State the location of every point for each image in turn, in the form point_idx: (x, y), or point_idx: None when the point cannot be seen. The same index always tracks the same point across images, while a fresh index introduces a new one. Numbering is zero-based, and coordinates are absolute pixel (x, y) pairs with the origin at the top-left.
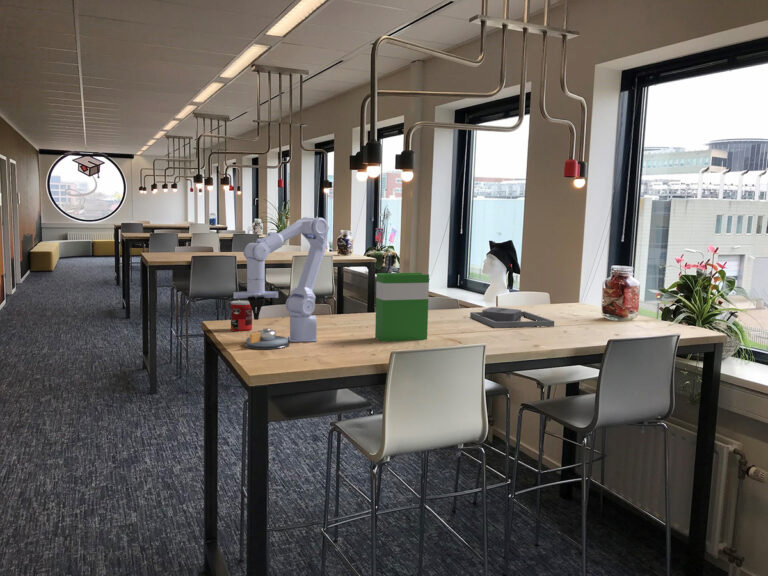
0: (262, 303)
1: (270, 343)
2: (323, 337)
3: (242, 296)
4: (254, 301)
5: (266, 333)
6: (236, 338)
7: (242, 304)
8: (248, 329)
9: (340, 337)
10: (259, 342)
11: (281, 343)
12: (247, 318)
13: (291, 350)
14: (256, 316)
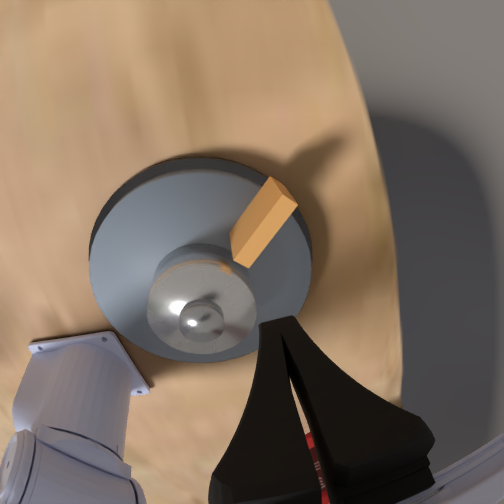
0: (229, 454)
1: (153, 181)
2: None
3: (482, 463)
4: (353, 449)
5: (190, 268)
6: (344, 360)
7: None
8: (306, 438)
9: (7, 390)
10: (226, 203)
11: (103, 222)
12: (317, 465)
13: (51, 168)
14: (280, 335)
